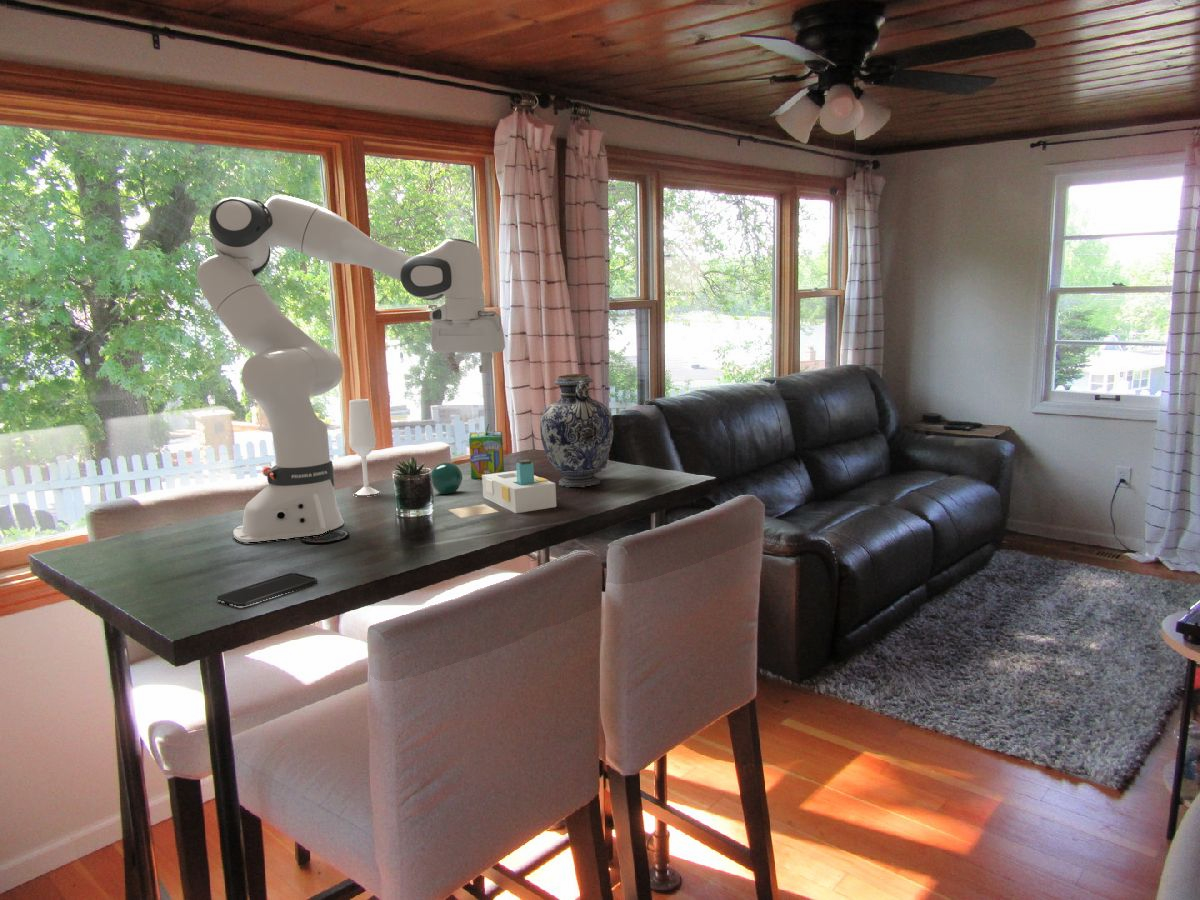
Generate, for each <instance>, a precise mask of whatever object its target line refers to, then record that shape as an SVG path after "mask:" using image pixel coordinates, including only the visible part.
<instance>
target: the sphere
mask: <svg viewBox="0 0 1200 900" xmlns="http://www.w3.org/2000/svg"><path fill="white" fill-rule="evenodd" d="M430 476H431V478H432V485H431V487H432V488H433V489H434V490H435V491H436V492H438V493H440V494H442V495H450V494H453V493H455V492H457V491H458V490H459V489H460V487H461V486H462V483H463V473H462V471H461V469H460V467H459V466H458V465H456V464H455V463H453V462H451V461H450V462H449V461H444V462H440V463H438V464H437V465H435V466H433V468H432V470H431V472H430Z"/></svg>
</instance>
